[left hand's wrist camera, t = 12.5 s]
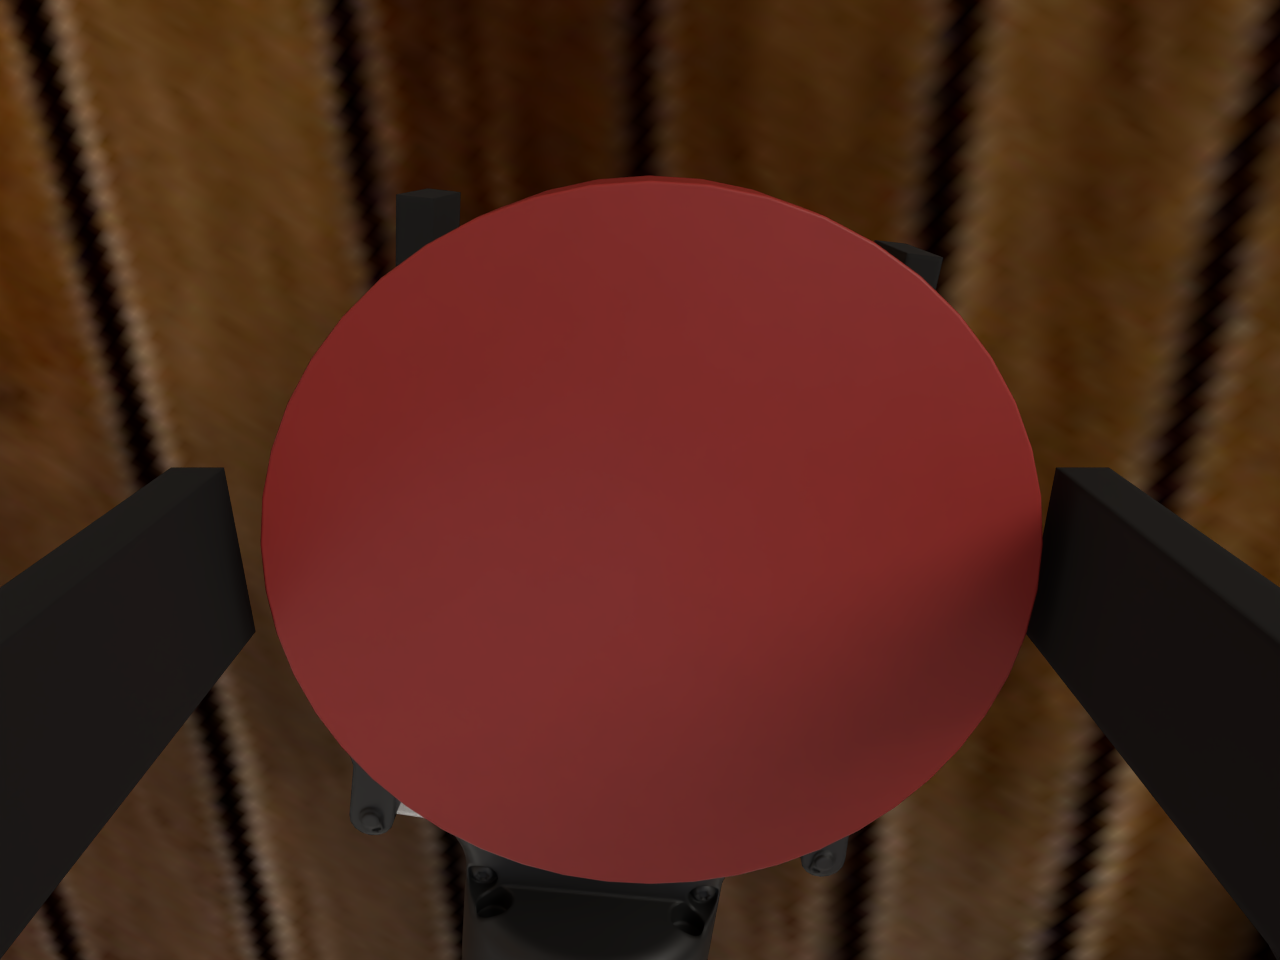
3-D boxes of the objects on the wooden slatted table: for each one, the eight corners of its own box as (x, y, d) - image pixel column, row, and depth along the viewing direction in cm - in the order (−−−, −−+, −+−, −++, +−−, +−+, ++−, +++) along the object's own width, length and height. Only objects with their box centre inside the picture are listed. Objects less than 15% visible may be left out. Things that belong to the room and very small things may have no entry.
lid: (947, 806, 16) (983, 885, 14) (353, 805, 16) (318, 884, 14) (1047, 173, 12) (1115, 178, 10) (254, 176, 12) (189, 182, 10)
